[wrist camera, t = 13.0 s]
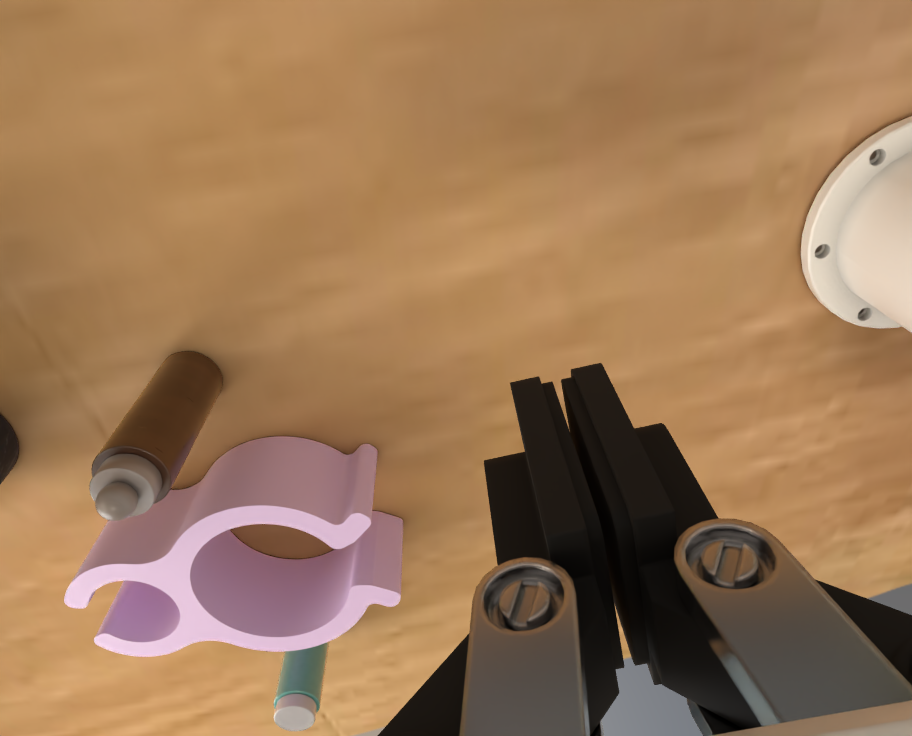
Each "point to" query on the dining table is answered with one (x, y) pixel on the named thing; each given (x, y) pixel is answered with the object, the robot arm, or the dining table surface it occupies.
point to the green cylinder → (300, 687)
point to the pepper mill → (155, 437)
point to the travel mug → (7, 448)
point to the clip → (248, 555)
